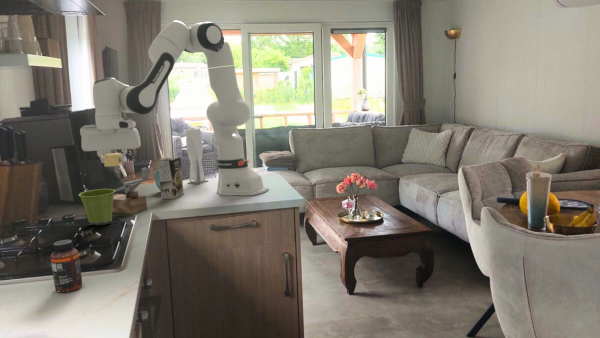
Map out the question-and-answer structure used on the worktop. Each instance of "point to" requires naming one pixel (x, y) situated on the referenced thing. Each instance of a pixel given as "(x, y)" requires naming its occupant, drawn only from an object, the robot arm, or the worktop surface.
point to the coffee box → (170, 178)
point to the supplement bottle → (66, 266)
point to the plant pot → (98, 204)
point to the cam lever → (136, 181)
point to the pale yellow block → (112, 159)
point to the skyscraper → (195, 155)
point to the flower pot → (157, 179)
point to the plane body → (129, 203)
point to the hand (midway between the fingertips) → (113, 162)
